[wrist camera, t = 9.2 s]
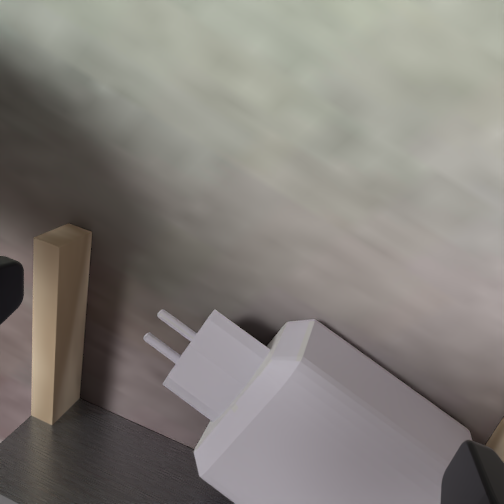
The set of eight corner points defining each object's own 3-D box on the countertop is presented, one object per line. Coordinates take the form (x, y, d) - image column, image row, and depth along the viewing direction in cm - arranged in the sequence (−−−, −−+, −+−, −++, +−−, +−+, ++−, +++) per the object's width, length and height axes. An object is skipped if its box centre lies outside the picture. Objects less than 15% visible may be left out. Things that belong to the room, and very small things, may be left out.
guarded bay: (58, 417, 29) (-34, 506, 23) (68, 223, 23) (-53, 272, 17) (427, 588, 24) (439, 761, 18) (558, 401, 18) (644, 561, 12)
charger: (214, 237, 21) (468, 419, 20) (142, 355, 25) (350, 510, 24) (169, 274, 17) (488, 507, 16) (91, 408, 21) (342, 598, 20)
